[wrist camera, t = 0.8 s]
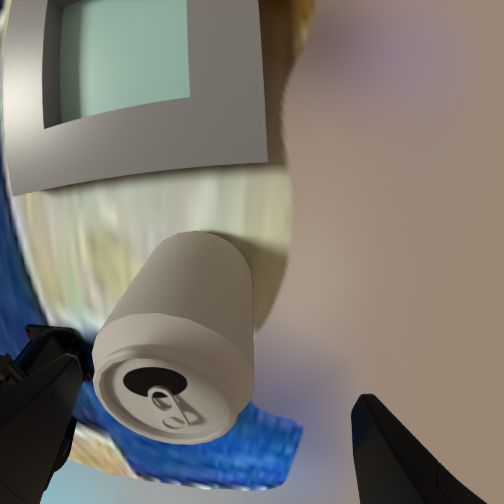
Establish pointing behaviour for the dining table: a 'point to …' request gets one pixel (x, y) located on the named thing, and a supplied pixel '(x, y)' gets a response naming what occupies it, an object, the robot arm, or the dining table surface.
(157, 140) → the pocket frame
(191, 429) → the can
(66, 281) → the dining table surface
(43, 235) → the dining table surface
